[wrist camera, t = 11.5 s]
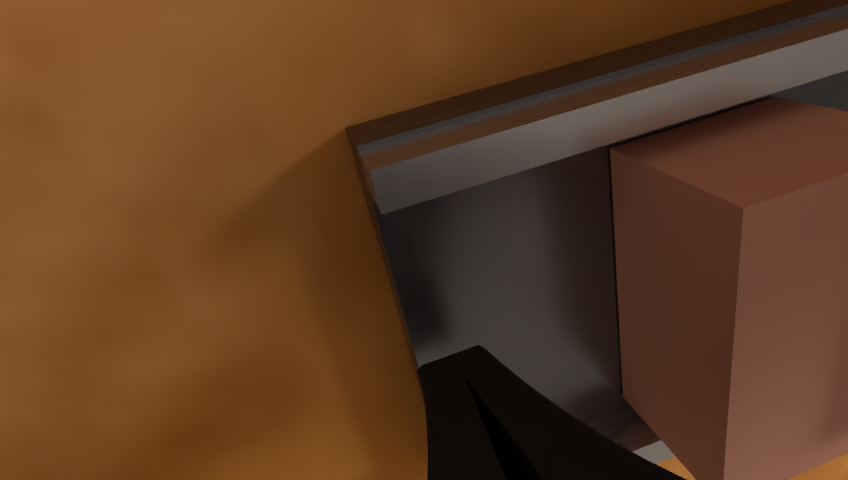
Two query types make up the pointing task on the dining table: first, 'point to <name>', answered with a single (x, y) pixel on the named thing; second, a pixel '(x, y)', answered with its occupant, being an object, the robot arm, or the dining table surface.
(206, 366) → the dining table surface
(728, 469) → the tall terracotta prism
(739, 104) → the press bed
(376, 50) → the dining table surface
